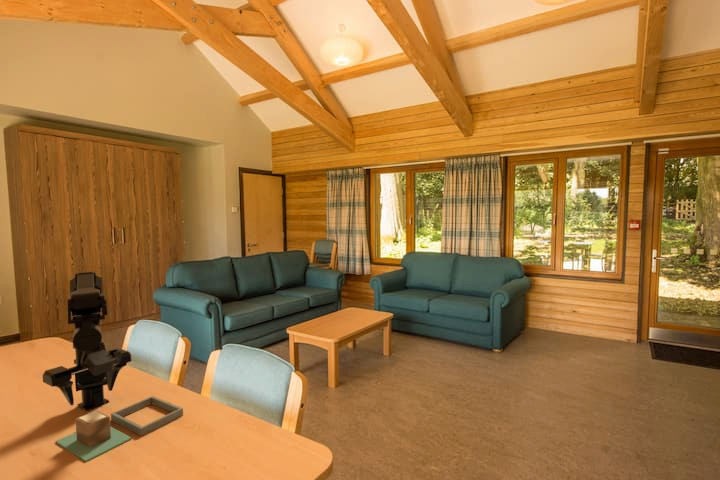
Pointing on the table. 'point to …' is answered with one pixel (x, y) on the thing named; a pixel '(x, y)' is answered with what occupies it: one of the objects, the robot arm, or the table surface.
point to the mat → (90, 453)
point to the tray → (140, 430)
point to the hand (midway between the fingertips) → (91, 397)
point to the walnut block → (93, 428)
